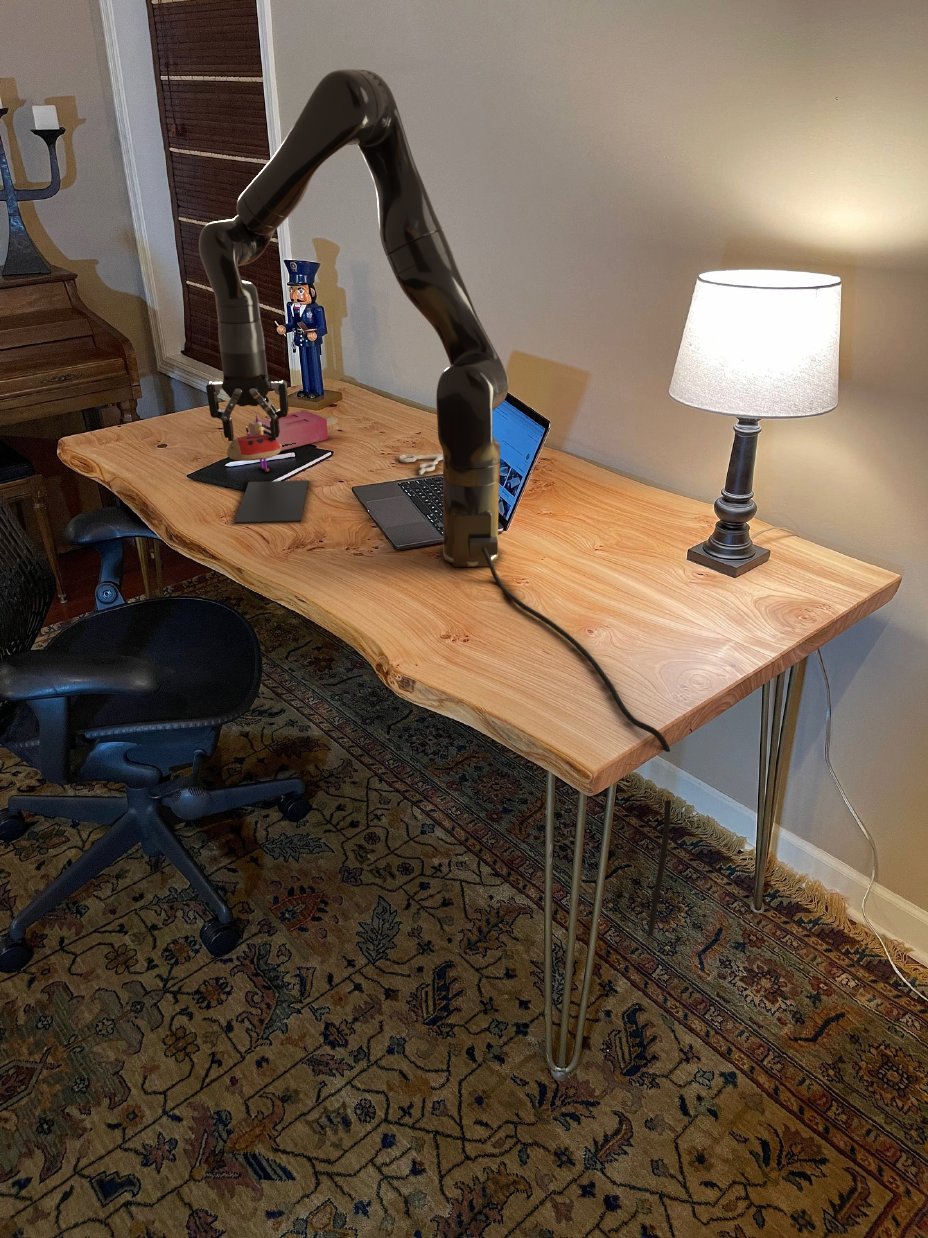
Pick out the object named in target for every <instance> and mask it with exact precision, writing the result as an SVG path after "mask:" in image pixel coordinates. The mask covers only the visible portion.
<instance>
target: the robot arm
mask: <svg viewBox="0 0 928 1238" xmlns="http://www.w3.org/2000/svg"><path fill="white" fill-rule="evenodd" d="M355 145H357V147H358V150H359V151H360V152H361V155H362V157H363V159H364V161H365V163H366V165H367V167H368V170H369V172H370V175H371V178H372V181H373V183H374V187H375V192H376V198H377V215H378V216H377V217H378V228H379V237H380V241H381V245H382V248H383V251H384V254H385V257H386V259H387V261H388V263H389V266H390V267H391V270H392V273H393V275H394V277H395V279H396V281H397V283H398V285H399V288H400V289H401V290H402V292H403V293H404V295H405V296H406V298H408V300H409V302H410V303H411V304H412V305H413V307H415V308H416V310H418V312H419V313H420V314H421V315H422V316H423V317H424V318H425V319H426V321H427V322H428V323H429V324H430V325H431V326H432V328H433V329H434V331H435V333H436V334H437V336H438V337H439V339H440V342H441V344H442V346H443V348H444V351H445V354H446V356H447V359H448V361H449V364H450V365H449V366H448V367H447V368H446V369H444V371H442V373H441V374H440V377H439V378H438V382H437V386H436V398H435V399H436V422H437V423H436V425H437V438H438V442H439V445H440V447H441V451H442V453H443V459H442V513H443V515H442V527H443V528H442V534H443V535H442V538H443V542H442V543H443V547H442V557H443V558H444V560H445V561H447V562H448V563H451V564H452V565H453V567H454V568H472V567H473V568H474V567H488V568H489V571H490V572H491V575H492V578H493V579H494V581H495V583H496V584H497V585H498V586H499V588H500V589H501V590H502V592H503V593H504V594H505V596H506V597H508V599H510V600H511V601H513V602H514V603H515V604H516V605H517V606H518V607H520V608H521V609H523V610H524V611H525V612H526V613H527V612H528V613H529V614H531V615H532V616H534V617H535V618H537V619H539V620H540V621H543V622H544V623H545V624H546V625H548V626H549V627H551V629H553V630H555V631H556V633H559V635H561V636H562V637H563V638H565V639H566V640H567V641H568V642H570V643H571V645H573V646H574V647H575V648H576V649H577V650H578V651H579V652H580V653H581V655H583V656H584V657H585V658H586V660H587V661H588V662H589V663H590V664H591V666H592V668H594V670H595V671H596V673H597V674H598V675H599V677H600V678H601V680H602V681H603V682H604V684H605V685H606V687H607V688H608V690H609V693H610V694H611V696H612V698H613V700H614V702H615V703H616V705H617V707H618V708H619V710H620V712H621V713H622V714H623V715H624V717H625V718H626V719H627V720H628V721H629V722H630V723H631V724H632V725H634V726H635V727H637V728H640V729H641V730H643V731H646V732H648V733H650V734H651V735H653V736H654V737H655V738H656V740H658V742H659V743H660V745H661V747H662V749H663V751H664V752H667V753H670V752H671V749H670V746H669V744H668V741H667V740H666V738H665V737H664V735H663V734H662V733H661V732H660V731H659V730H657V729H656V728H654V727H653V726H651V725H649V724H646V723H645V722H642V721H640V720H639V719H637V718H635V717H634V716H633V715H632V713H630V711H629V710H628V708H627V707H626V706H625V705H624V703H623V701H622V699H621V697H620V695H619V694H618V691H617V689H616V688H615V686H614V685H613V683H612V681H611V680H610V679H609V678H608V676H607V675H606V673H605V672H604V671H603V669H602V668H601V666H600V665H599V663H598V662H597V660H596V659H594V657H593V656H592V655H591V653H589V652H588V650H587V649H585V647H584V646H582V644H580V643H579V642H578V641H577V640H576V639H575V638H574V637H573V636H571V635H570V634H569V633H568V632H566V631H565V630H564V629H563V628H561V627H560V626H559V625H558V624H556V623H555V622H553V621H552V620H550V619H549V617H547V616H545V615H543V614H542V613H539V612H538V611H537V610H534V609H533V608H532V607H530V606H529V605H526V603H524V602H522V601H521V600H520V599H519V598H518V597H516V596H515V595H514V594H512V593H511V592H510V591H509V590H508V589H507V588H506V587H505V585H504V584H503V582H502V581H501V578H500V577H499V575H498V572H497V570H496V568H495V566H494V562H495V561H496V560H497V559H498V557H499V512H500V511H499V507H500V504H499V503H500V475H501V474H500V472H501V444H500V442H499V440H497V438H495V437H494V436H493V435H494V433H493V411H495V410H497V408H499V407H500V406H501V405H502V404H503V403H504V401H505V399H506V398H507V395H508V392H509V378H508V377H509V376H508V373H507V371H506V368H505V366H504V363H503V362H502V359H501V358H500V355H499V354H498V352H497V351H496V348H495V347H494V345H493V343H492V341H491V340H490V338H489V336H488V334H487V331H486V330H485V328H484V326H483V324H482V322H481V320H480V318H479V316H478V314H477V312H476V309H475V306H474V304H473V301H472V299H471V296H470V294H469V291H468V288H467V286H466V284H465V281H464V279H463V276H462V275H461V272H460V270H459V267H458V264H457V262H456V258H455V256H454V253H453V250H452V248H451V245H450V243H449V241H448V239H447V236H446V234H445V232H444V230H443V227H442V225H441V222H440V221H439V218H438V216H437V214H436V211H435V209H434V206H433V204H432V201H431V199H430V195H429V194H428V192H427V189H426V187H425V184H424V181H423V179H422V177H421V175H420V173H419V170H418V168H417V167H418V166H417V164H416V162H415V160H414V156H413V154H412V151H411V147H410V145H409V140H408V138H407V134H406V131H405V128H404V124H403V121H402V118H401V115H400V112H399V108H398V105H397V102H396V99H395V96H394V94H393V92H392V90H391V88H390V87H389V84H388V83H387V82H386V81H385V80H384V78H383V77H382V76H380V75H379V74H378V73H376V72H375V71H372V70H368V69H358V68H357V69H350V68H349V69H347V68H345V69H344V68H343V69H337V70H333V71H330V72H328V73H327V74H326V75H324V76H323V78H322V79H320V81H319V82H318V84H317V85H316V86H315V88H314V90H313V92H312V93H311V95H310V96H309V98H308V100H307V102H306V104H305V106H303V109H302V111H301V113H300V114H299V116H298V118H297V120H296V121H295V123H294V124H293V126H292V127H291V129H290V130H289V132H288V134H287V136H286V137H285V139H284V141H283V142H282V143H281V145H280V146H279V148H278V149H277V150H276V152H275V154H274V155H273V156H272V158H271V159H270V160H269V162H267V164H266V165H265V166H264V167H263V169H262V170H261V171H260V172H259V173H258V175H256V177H255V178H254V179H253V180H252V181H251V183H250V184H249V185H248V186H246V189H244V191H243V192H242V193H241V194H240V195H239V197H238V200H237V202H236V214H237V215H236V216H235V217H234V218H232V219H225V220H218V221H212V222H209V223H207V224H206V225H204V227H202V229H201V231H200V234H199V240H198V251H199V252H198V253H199V256H200V260H201V263H202V265H203V268H204V270H205V273H206V276H207V278H208V279H207V280H208V281H209V285H210V287H211V289H212V291H213V293H214V299H215V308H216V315H217V316H216V317H217V325H218V326H217V327H218V329H217V331H218V332H217V335H218V344H219V351H220V358H221V359H220V360H221V366H222V375H223V380H222V381H214V380H209V381H208V382H207V384H206V386H205V391H206V396H207V402H208V403H207V404H208V407H209V414H210V417H211V418H212V419H219V420H220V421H221V422H222V430H223V436H224V438H225V439H228V440H227V441H228V442H232V441H233V440H234V439H235V435H234V434H235V433H234V425H233V418H232V417H231V415H232V412H233V411H234V409H235V407H236V405H237V406H239V407H246V406H251V407H258V406H260V408H261V409H262V410H263V411H264V412H265V413H266V414H267V416H268V417H269V418H271V419H270V429H271V439H272V441H275V440H276V438H277V437H279V434H280V427H279V418H281V417H286V416H287V414H289V396H288V383H287V381H286V380H285V379H282V380H280V381H272V380H271V379H270V378H269V375H268V364H267V355H266V354H267V353H266V340H265V335H264V329H263V324H262V320H261V311H260V303H259V302H260V301H259V294H258V290H257V289H258V288H257V287H256V286H255V285H254V284H253V283H252V282H250V281H246V280H243V279H242V276H241V274H240V272H239V267H240V266H245V265H249V264H251V263H253V262H255V261H256V260H257V259H258V258H259V257H261V255H263V253H264V252H265V250H266V249H267V247H268V246H269V243H270V241H271V240H272V238H273V236H274V234H275V231H276V230H277V229H278V228H279V227H280V226H281V225H282V224H283V223H284V222H285V221H286V220H287V219H288V217H289V216H291V214H292V213H293V212H294V211H295V210H296V208H297V207H298V206H299V205H300V203H301V202H302V200H303V198H304V197H305V195H306V193H307V190H308V187H309V186H310V182H311V181H312V178H313V176H314V175H315V174H316V172H317V171H318V169H319V168H320V167H321V166H322V165H323V164H324V163H325V162H326V161H327V160H328V159H329V158H330V157H332V156H333V155H334V154H336V153H338V151H340V150H341V149H343V148H344V147H346V146H355ZM271 389H273V390H274V393H275V395H278V398H279V399H278V400H279V408H276V407H275V405H274V404H273V401H272V399H270V397H269V396H268V394H269V392H270V391H271ZM221 390H223V392H224V393H225V394H226V395H227V396H228V397H229V401H228V403H227V405H226V407H225V409H224V410H223V409H221V408H220V404H219V397H218V396H219V395H220V393H221ZM671 807H672V800H670V799H666V800H664V814H663V829H662V839H661V846H660V855H659V861H658V866H657V867H658V868H657V873H656V879H655V884H654V890H653V897H652V902H651V907H650V914H649V920H648V927H647V935H648V936H649V937H652V936H653V935H654V930H655V924H656V917H657V911H658V904H659V899H660V892H661V887H662V884H663V883H662V882H663V877H664V871H665V867H666V859H667V854H668V853H667V851H668V845H669V836H670V824H671Z"/></svg>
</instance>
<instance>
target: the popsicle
mask: <svg viewBox="0 0 928 1238" xmlns="http://www.w3.org/2000/svg"><path fill="white" fill-rule="evenodd" d="M270 419H271V418H270V417H269V418H264V419H259V421H260V422H261V424H263V426H264V425H266V426H268V427H270ZM334 424H339V419H338V418H337V417H334V416H331V417H327V418H325V417H323V416H320V415H318V414H315V413H314V412H311V411H308V410H306V409H305V410H300V411H296V412H290V413H287V416H286V417H281V418H279V427H280V434H279V437H277V438H276V441H277V442H278V444H281V445H285V444H292V443H296V444H292V445H288V446H284V447H282V448H281V451H280V452H283V451H287V450H290V449H294V448H299V447H303V446H306V445H310V444H315V443H319V442H322V441H327V440H328V439H329V434H328V433H329V431H328V426H330V425H334ZM264 430H265V431H267V432H270V433H271V431H270V430H268V429H264ZM248 431H249V434H251V435H255V434H257V432H256V431H255V425H254V421H250V422H249V423H248ZM263 435H267V434H265V433H263Z"/></svg>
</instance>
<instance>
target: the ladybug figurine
mask: <svg viewBox="0 0 928 1238" xmlns="http://www.w3.org/2000/svg"><path fill="white" fill-rule="evenodd" d="M281 448H282V445H281V444H278V442H277V441H276V440H275V441H272V439H271V436H269V435H248V436H247V435H243V436H239V437H236V438H234V439H233V441H230V443H229V445H228V447H227V450H226V455H227V457H228V458H229V459H231V460H234V461H239V462H250V461H260V460H261V459H262V460H263V459H266V460H267V459H269V458H272V457H276V456H277V455H279V454H280V453H281V452H282V451H281Z"/></svg>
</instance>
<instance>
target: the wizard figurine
mask: <svg viewBox="0 0 928 1238" xmlns="http://www.w3.org/2000/svg"><path fill="white" fill-rule="evenodd" d="M253 422H254V425H255V431H256V432H257V434H255V435H263V433H265V434H267V435H269V436H271V433H270V432H267V431H265V430H264V429H268V430H270V431H271V429H270V427H268V426H266V425H264V426H263V424H261V422H260V419H259V416H258V415H257V413H256V416H255V419H254V420H253ZM245 430H246V435H245V436H248V435H251V434H250V431H249V426H247V425H246V426H245ZM259 464H260V469H261V470H264V472H266V473H267V472H270V468H268V463H267V458H266V459H261V460H259Z"/></svg>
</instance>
